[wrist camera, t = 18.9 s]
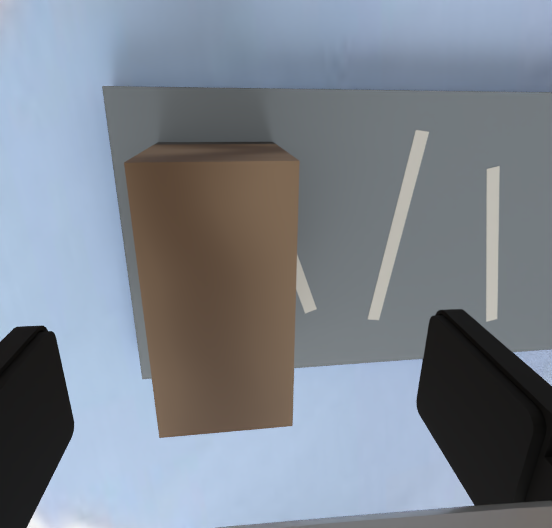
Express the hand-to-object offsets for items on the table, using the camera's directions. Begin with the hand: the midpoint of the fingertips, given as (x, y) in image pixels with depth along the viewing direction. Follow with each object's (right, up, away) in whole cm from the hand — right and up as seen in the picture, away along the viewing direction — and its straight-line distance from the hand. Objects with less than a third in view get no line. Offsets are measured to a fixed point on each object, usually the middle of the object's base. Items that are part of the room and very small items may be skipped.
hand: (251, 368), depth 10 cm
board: (+5, +4, +10) cm, 12 cm away
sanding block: (-2, +3, +7) cm, 8 cm away
